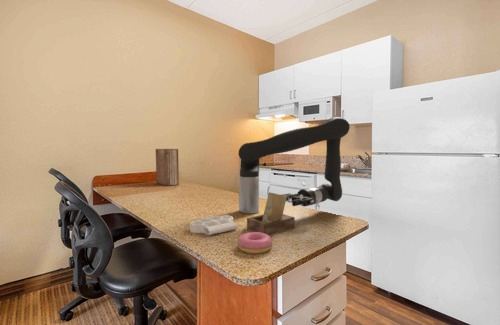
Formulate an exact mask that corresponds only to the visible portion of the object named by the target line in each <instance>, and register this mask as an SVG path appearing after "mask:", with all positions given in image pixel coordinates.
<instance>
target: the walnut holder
mask: <svg viewBox="0 0 500 325" xmlns="http://www.w3.org/2000/svg"><path fill="white" fill-rule="evenodd" d="M263 215H264V213H263V214H259V215H255V216H251V217H248V218H246V229H248V230H249V231H251V232H261V233H265V234H268V235H269V236H272V235H275V234H277V233H281V232H285V231H287V230H290V229H294V228H295V225H296V224H295V222H296V221H295V220H296V219H295V218H296V217H295V216H292V215H288V214H284V213H283V215H282V219H280V220H277V221H273V222H269V223H265V222H262V219H263Z"/></svg>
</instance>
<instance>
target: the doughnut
mask: <svg viewBox="0 0 500 325" xmlns="http://www.w3.org/2000/svg"><path fill="white" fill-rule="evenodd" d="M237 246H238V249H239V250H241V251H242V252H244V253H247V254H252V255H254V254H255V255H257V254H258V255H259V254H263V253H267V252H268V251H269V250H271V248H272V246H273V240H272V237H271V235H268V234H265V233H261V232H255V231H248V232H245V233H241V235H240V236H239V237H238V239H237Z"/></svg>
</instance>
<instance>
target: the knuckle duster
mask: <svg viewBox="0 0 500 325" xmlns="http://www.w3.org/2000/svg"><path fill="white" fill-rule="evenodd" d="M237 229H238V226H237V224H236V222H235V221H234V217H233V216H232V215H228V214H226V215H219V216H217V215H216V216H214V215H213V216H208V217H203V218H199V219H198V220H192V221H190V222H189V232H190V233H194V234H201V233H202V234H204V235H206V236H211V235H217V234H221V233H225V232H229V231H235V230H237Z"/></svg>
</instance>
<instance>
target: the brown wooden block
mask: <svg viewBox="0 0 500 325" xmlns="http://www.w3.org/2000/svg"><path fill="white" fill-rule="evenodd" d="M179 165H180V163H179V148H155V171H156V172H155V174H156V175H155V176H156V178H155V179H156V184H158V185H159V184H160V185H163V186H167V187H170V186H174V185H175V186H176V185H177V186H180V172H179V171H180V170H179V168H180V167H179Z"/></svg>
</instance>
